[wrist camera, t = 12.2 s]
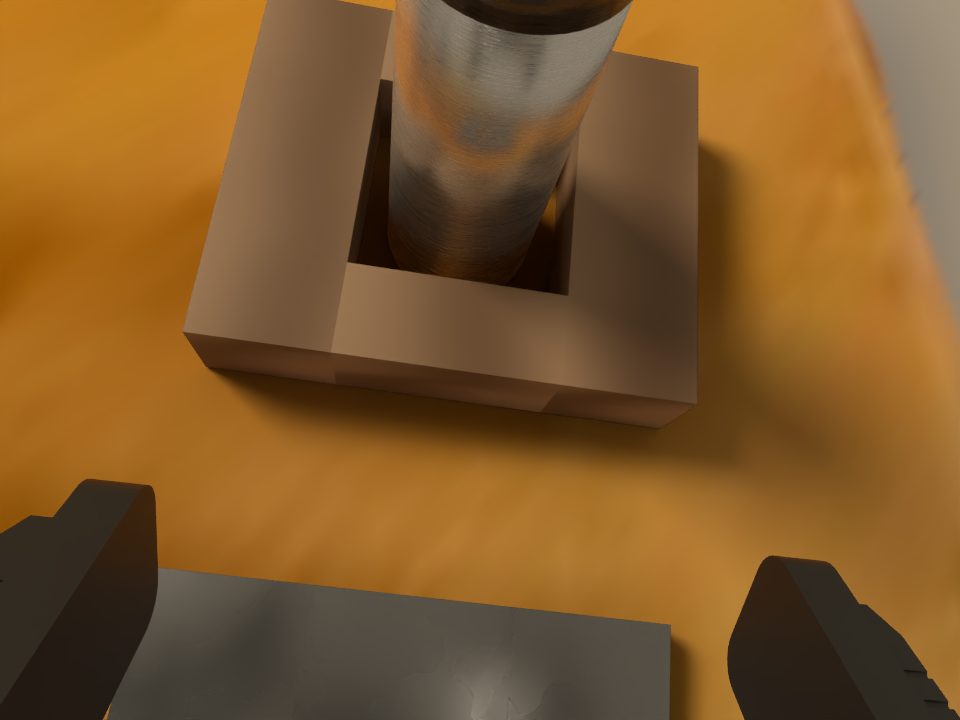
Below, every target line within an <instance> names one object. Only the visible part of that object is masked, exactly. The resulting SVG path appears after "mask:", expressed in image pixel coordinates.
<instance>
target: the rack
mask: <svg viewBox="0 0 960 720" xmlns="http://www.w3.org/2000/svg"><path fill="white" fill-rule="evenodd" d="M394 39H395V11H392V10H386V9H381V8H376V7H370V6H365V5H359V4H354V3H348V2H343V1H338V0H267V4H266V7H265V11H264V15H263V19H262V23H261V27H260V31H259V35H258V39H257V43H256V46H255V50H254V54H253V58H252V62H251V66H250V70H249V74H248V78H247V82H246V85H245V89H244V93H243V97H242V101H241V105H240V109H239V113H238V117H237V121H236V124H235V128H234V132H233V136H232V140H231V144H230V148H229V152H228V156H227V160H226V163H225V167H224V171H223V175H222V179H221V183H220V187H219V191H218V195H217V199H216V202H215V206H214V210H213V214H212V218H211V222H210V226H209V230H208V234H207V238H206V241H205V245H204V249H203V253H202V257H201V261H200V265H199V269H198V273H197V277H196V280H195V284H194V288H193V292H192V296H191V300H190V304H189V308H188V312H187V316H186V319H185V323H184V327H183V331H182V332H183V333H184V335H185V336H186V338H187V339H188V341H189V342H190V344H191V345H192V347H193V348H194V350H195V351H196V352H197V354H198V355H199V357H200V358H201V360H202V361H203V363H204V364H205V366H206V367H212V368H219V369H226V370H234V371H241V372H248V373H256V374H263V375H270V376H278V377H285V378H292V379H299V380H307V381H314V382H321V383H329V384H336V385H343V386H351V387H358V388H365V389H373V390H380V391H387V392H395V393H402V394H409V395H417V396H424V397H431V398H438V399H446V400H453V401H460V402H468V403H475V404H482V405H490V406H497V407H504V408H512V409H519V410H526V411H534V412H541V413H548V414H556V415H563V416H570V417H578V418H585V419H592V420H599V421H607V422H614V423H621V424H629V425H636V426H643V427H651V428H658V429H660V428H661V427H663V426H665V425H666V424H668V423H669V422H671V421H672V420H674V419H675V418H677V417H678V416H680V415H681V414H683V413H684V412H686V411H687V410H689V409H690V408H692V407H694V406H695V405H697V380H698V67H696V66H690V65H685V64H679V63H674V62H669V61H663V60H658V59H652V58H647V57H641V56H636V55H631V54H625V53H620V52H614V51H611V54H610V56H609V59H608V61H607V63H606V66H605V68H604V70H603V73H602V75H601V78H600V80H599V82H598V85H597V87H596V90H595V92H594V94H593V97H592V99H591V101H590V104H589V106H588V109H587V111H586V113H585V116H584V118H583V120H582V123H581V125H580V128H579V130H578V132H577V135H576V137H575V139H574V142H573V144H572V147H571V149H570V151H569V154H568V156H567V158H566V161H565V163H564V166H563V168H562V170H561V173H560V175H559V177H558V186H557V199H556V212H555V225H554V238H553V251H552V264H551V277H550V290H549V293H546V292H539V291H533V290H526V289H520V288H513V287H507V286H500V285H493V284H487V283H480V282H474V281H467V280H461V279H454V278H447V277H441V276H434V275H428V274H421V273H414V272H408V271H401V270H395V269H388V268H382V267H375V266H368V265H362V264H357V263H358V257H359V251H360V246H361V240H362V234H363V229H364V223H365V217H366V212H367V206H368V200H369V195H370V189H371V183H372V178H373V172H374V166H375V161H376V155H377V149H378V144H379V138H380V137H386V138H391V123H392V95H393V67H394Z"/></svg>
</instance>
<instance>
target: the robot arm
mask: <svg viewBox="0 0 960 720" xmlns="http://www.w3.org/2000/svg"><path fill="white" fill-rule="evenodd" d="M157 589H158V559H157V531H156V502H155V494H154V491H153V488H152V487H151V486H149V485H142V484H132V483H123V482H114V481H105V480H96V479H86V480H84V481H82V482H81V483H80V484H79V485H78V486H77V488H76V489H75V490H74V491H73V493H72V494H71V495H70V496H69V498H68V499H67V500H66V502H65V503H64V504H63V505H62V507H61V508H60V509H59V510H58V512H57V513H56V514H55V515H54V517H53V518H51V517H42V516H32V515H30V516H29V517H27V518H26V519H24V520H22V521H21V522H19V523H17V524H16V525H14V526H13V527H11V528H9V529H8V530H6V531H4V532H3V533H1V534H0V720H103V718H104V716H105V714H106V712H107V710H108V707H109V705H110V703H111V701H112V699H113V697H114V695H115V693H116V691H117V689H118V687H119V685H120V683H121V681H122V679H123V677H124V675H125V673H126V671H127V669H128V667H129V665H130V663H131V661H132V659H133V657H134V655H135V653H136V651H137V649H138V647H139V645H140V643H141V641H142V639H143V637H144V635H145V633H146V631H147V628H148V626H149V623H150V620H151V617H152V614H153V610H154V606H155V602H156V596H157ZM727 664H728V674H729V679H730V683H731V687H732V689H733V692H734V694H735V697H736V699H737V702H738V704H739V707H740V709H741V712H742V714H743V717H744V719H745V720H960V717H959V716H958V715H957V713H956V712H955V710H953V709H949V707H948V700H947V699H946V698H945V696H944V695H943V693H942V692H941V690H940V689H939V688H938V686H937V685H936V683H935V682H934V681H933V679H928V678H927V671H926V669H925V668H924V666H923V665H922V664H921V662H920V661H919V659H918V658H917V656H916V655H915V654H914V652H913V651H912V649H911V648H910V647H909V645H908V644H907V642H906V641H905V639H904V638H903V637H902V636H901V635H900V634H899V633H898V632H897V631H896V630H894V629H893V628H892V627H891V626H890V625H889V624H888V623H887V622H885V621H884V620H883V619H882V618H881V617H880V616H879V615H877V614H876V613H875V612H874V611H873V610H872V609H871V608H869V607H868V606H867V605H864V604H859V603H858V602H857V600H856V599H855V597H854V596H853V594H852V593H851V591H850V590H849V588H848V587H847V585H846V584H845V582H844V581H843V579H842V578H841V576H840V575H839V573H838V572H837V571H836V569H835V568H834V567H833V566H832V565H831V564H830V563H828V562H825V561H818V560H808V559H799V558H790V557H781V556H769V557H767V558H765V559H764V560H763V562H762V563H761V564H760V566H759V569H758V571H757V573H756V576H755V578H754V581H753V583H752V586H751V588H750V591H749V593H748V596H747V598H746V600H745V603H744V605H743V608H742V610H741V613H740V615H739V618H738V620H737V623H736V625H735V628H734V630H733V633H732V635H731V638H730V641H729V646H728V656H727Z"/></svg>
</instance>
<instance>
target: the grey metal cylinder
mask: <svg viewBox="0 0 960 720" xmlns="http://www.w3.org/2000/svg"><path fill="white" fill-rule="evenodd" d="M632 2H633V0H396V11H395V39H394V67H393V95H392V123H391V151H390V179H389V207H388V242H389V246H390V250H391V253H392V255H393V257H394V259H395V261H396V263H397V265H398V266H399V268H400V269H401V270H402V271H408V272H414V273H421V274H428V275H434V276H441V277H447V278H454V279H461V280H467V281H474V282H480V283H487V284H493V285H500V286H504V285H505V284H506V283H508V282H509V281H510V280H511V279H512V278H513V277H514V276H515V274H516V273H517V271H518V270H519V269H520V267H521V265H522V263H523V261H524V258H525V256H526V253H527V251H528V249H529V246H530V244H531V242H532V239H533V237H534V234H535V232H536V230H537V227H538V225H539V223H540V220H541V218H542V215H543V213H544V211H545V208H546V206H547V204H548V201H549V199H550V196H551V194H552V192H553V189H554V187H555V185H556V182H557V180H558V177H559V175H560V173H561V170H562V168H563V166H564V163H565V161H566V158H567V156H568V154H569V151H570V149H571V147H572V144H573V142H574V139H575V137H576V135H577V132H578V130H579V128H580V125H581V123H582V120H583V118H584V116H585V113H586V111H587V109H588V106H589V104H590V101H591V99H592V97H593V94H594V92H595V90H596V87H597V85H598V82H599V80H600V78H601V75H602V73H603V70H604V68H605V66H606V63H607V61H608V59H609V56H610V54H611V51H612V49H613V47H614V44H615V42H616V40H617V37H618V35H619V32H620V30H621V28H622V25H623V23H624V21H625V18H626V16H627V13H628V11H629V9H630V6H631V4H632Z"/></svg>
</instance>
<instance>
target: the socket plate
mask: <svg viewBox="0 0 960 720" xmlns="http://www.w3.org/2000/svg"><path fill="white" fill-rule="evenodd" d="M670 641H671V625H668V624H659V623H650V622H641V621H632V620H623V619H614V618H605V617H596V616H587V615H578V614H569V613H560V612H551V611H542V610H533V609H524V608H515V607H506V606H497V605H488V604H479V603H470V602H461V601H453V600H444V599H435V598H426V597H417V596H408V595H399V594H390V593H381V592H372V591H363V590H354V589H345V588H336V587H327V586H318V585H309V584H300V583H291V582H282V581H273V580H264V579H255V578H246V577H237V576H228V575H219V574H210V573H201V572H192V571H183V570H175V569H166V568H158V589H157V596H156V602H155V606H154V610H153V614H152V617H151V620H150V623H149V626H148V628H147V631H146V633H145V635H144V637H143V639H142V641H141V643H140V645H139V647H138V649H137V651H136V653H135V655H134V657H133V659H132V661H131V663H130V665H129V667H128V669H127V671H126V673H125V675H124V677H123V679H122V681H121V683H120V685H119V687H118V689H117V691H116V693H115V695H114V697H113V699H112V702H111V706H110V710H109V715H108V719H107V720H669V711H670Z"/></svg>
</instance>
